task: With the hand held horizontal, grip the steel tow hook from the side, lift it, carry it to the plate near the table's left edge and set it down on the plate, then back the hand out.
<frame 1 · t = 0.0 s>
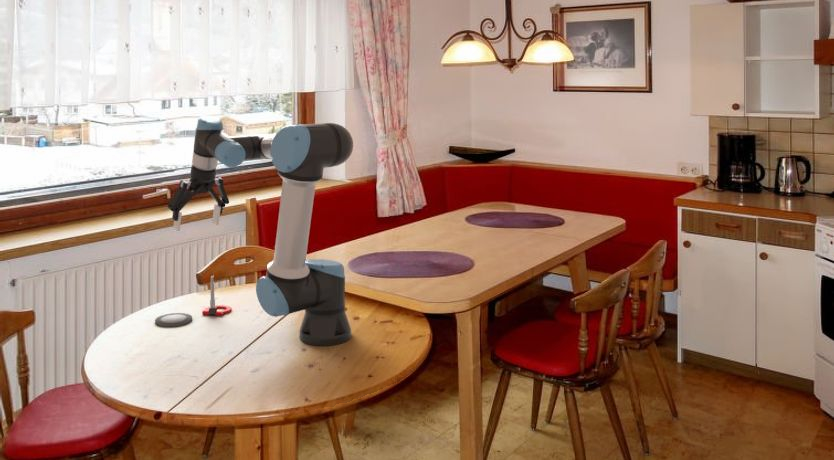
hand: (196, 226, 238), 28 cm above the table, tool tilted 20°, fingers open, 13 cm apart
tow hook: (217, 312, 241), on the table
plate: (173, 321, 231), on the table
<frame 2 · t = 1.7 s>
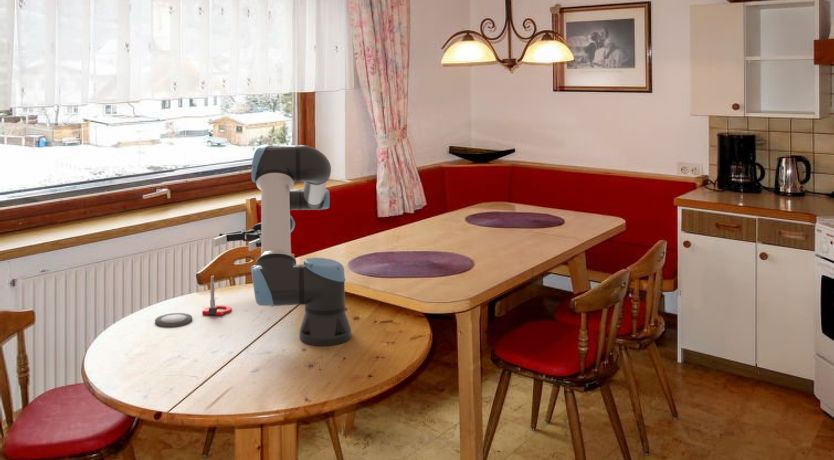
hand: (231, 244, 245), 20 cm above the table, tool horizontal, fingers open, 13 cm apart
nothing on the table moved.
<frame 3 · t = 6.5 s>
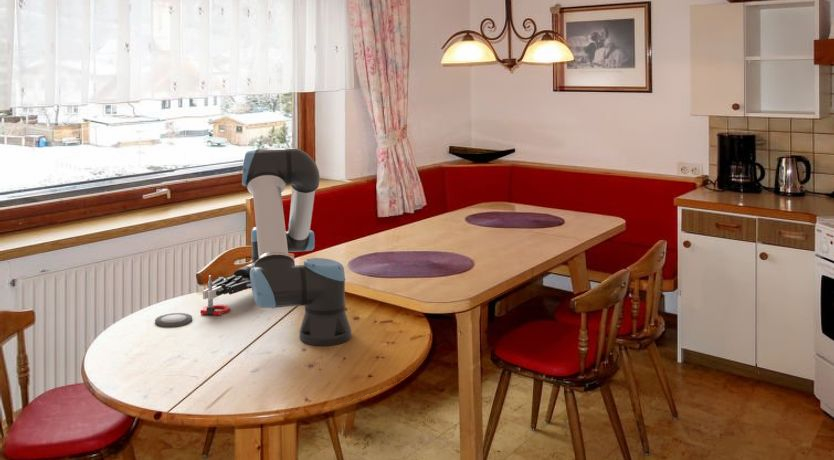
hand: (206, 295, 234), 7 cm above the table, tool horizontal, fingers closed on tow hook
tow hook: (216, 311, 241), on the table, touching gripper
everything else where it was.
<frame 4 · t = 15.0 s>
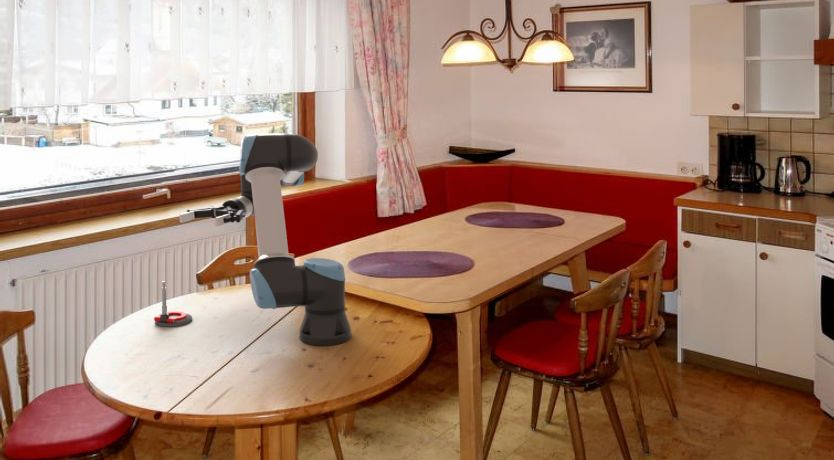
hand: (198, 220, 236), 30 cm above the table, tool horizontal, fingers open, 13 cm apart
tow hook: (171, 319, 231), point 1 cm above the table, touching plate
everything else where it was.
at the end: tow hook 0.6 cm from the plate (horizontally); tow hook touching plate; the gripper is holding nothing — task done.
